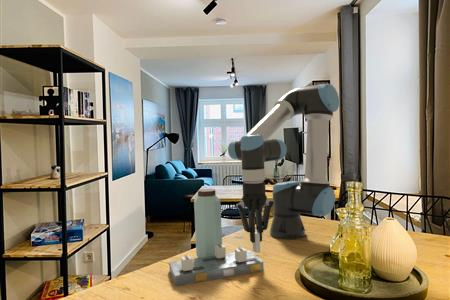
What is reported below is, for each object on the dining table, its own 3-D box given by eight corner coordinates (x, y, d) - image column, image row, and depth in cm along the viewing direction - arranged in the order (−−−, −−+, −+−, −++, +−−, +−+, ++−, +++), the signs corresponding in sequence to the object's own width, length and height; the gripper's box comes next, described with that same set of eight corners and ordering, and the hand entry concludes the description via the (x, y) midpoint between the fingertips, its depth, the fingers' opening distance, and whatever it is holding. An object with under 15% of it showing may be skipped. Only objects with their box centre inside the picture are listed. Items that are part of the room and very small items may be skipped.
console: (250, 258, 122) (249, 249, 122) (263, 270, 110) (263, 261, 110) (169, 271, 113) (169, 261, 113) (175, 286, 101) (175, 275, 101)
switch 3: (243, 257, 113) (243, 246, 113) (246, 260, 110) (246, 249, 110) (235, 259, 112) (234, 247, 112) (238, 262, 109) (237, 250, 109)
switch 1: (190, 266, 108) (190, 254, 107) (192, 269, 105) (192, 257, 105) (181, 267, 107) (181, 255, 106) (183, 271, 104) (182, 258, 104)
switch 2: (223, 254, 117) (222, 243, 117) (225, 257, 114) (225, 245, 114) (214, 255, 116) (214, 244, 116) (217, 258, 113) (216, 247, 113)
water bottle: (219, 262, 119) (216, 192, 118) (192, 261, 121) (189, 192, 120) (225, 252, 128) (222, 187, 127) (200, 252, 130) (197, 187, 129)
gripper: (266, 178, 117) (269, 245, 118) (231, 181, 113) (234, 250, 115) (276, 181, 110) (279, 252, 111) (239, 184, 106) (242, 258, 107)
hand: (256, 251), depth 113 cm, fingers closed
